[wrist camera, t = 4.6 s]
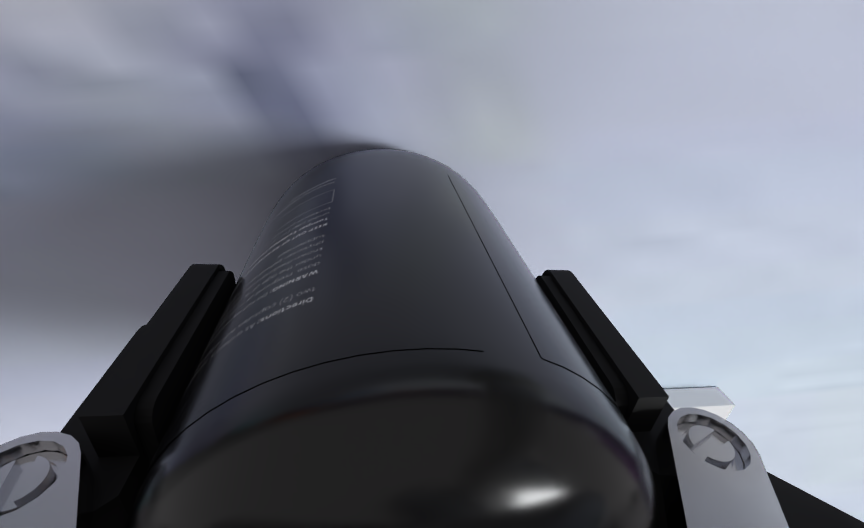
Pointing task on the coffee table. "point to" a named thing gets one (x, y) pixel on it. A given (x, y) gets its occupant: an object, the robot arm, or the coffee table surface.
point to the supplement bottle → (393, 377)
